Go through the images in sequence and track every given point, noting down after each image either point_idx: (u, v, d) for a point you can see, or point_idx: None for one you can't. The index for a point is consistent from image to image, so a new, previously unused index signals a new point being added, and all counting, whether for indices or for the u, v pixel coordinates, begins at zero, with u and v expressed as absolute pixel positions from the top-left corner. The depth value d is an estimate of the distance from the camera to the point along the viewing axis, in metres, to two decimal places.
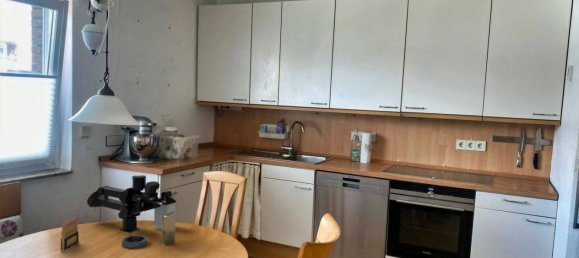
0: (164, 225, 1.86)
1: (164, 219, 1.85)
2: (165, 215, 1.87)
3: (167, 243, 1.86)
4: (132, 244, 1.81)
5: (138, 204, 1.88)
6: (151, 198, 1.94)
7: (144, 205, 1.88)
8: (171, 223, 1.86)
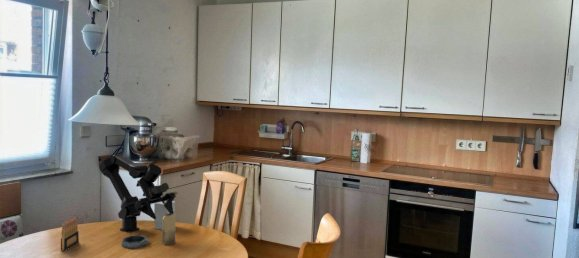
0: (164, 225, 1.86)
1: (164, 219, 1.85)
2: (165, 215, 1.87)
3: (167, 243, 1.86)
4: (132, 244, 1.81)
5: (138, 204, 1.85)
6: (153, 199, 1.91)
7: (142, 208, 1.86)
8: (171, 223, 1.86)
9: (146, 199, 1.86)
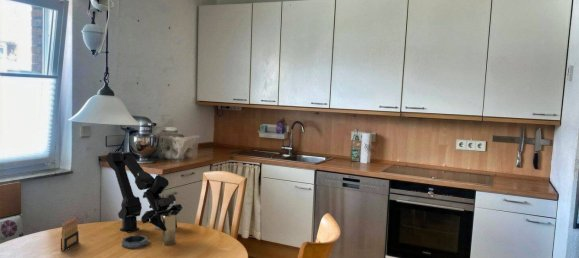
0: (164, 225, 1.86)
1: (164, 219, 1.85)
2: (165, 215, 1.87)
3: (167, 243, 1.86)
4: (132, 244, 1.81)
5: (144, 217, 1.83)
6: (160, 212, 1.88)
7: (152, 220, 1.85)
8: (171, 223, 1.86)
9: (153, 212, 1.84)
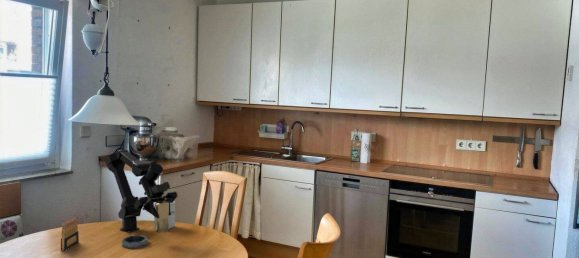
0: (157, 212, 1.84)
1: (157, 206, 1.84)
2: (158, 202, 1.86)
3: (160, 230, 1.85)
4: (132, 244, 1.81)
5: (137, 203, 1.82)
6: (154, 199, 1.87)
7: (145, 206, 1.84)
8: (164, 210, 1.84)
9: (146, 198, 1.83)
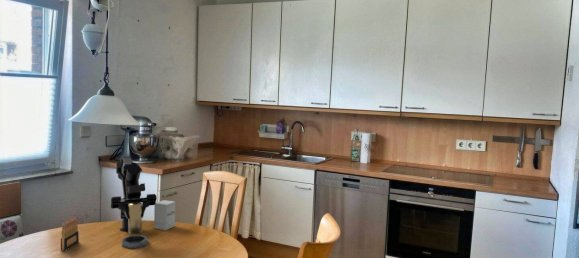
0: (128, 213, 1.84)
1: (128, 207, 1.83)
2: (132, 203, 1.85)
3: (130, 231, 1.84)
4: (132, 244, 1.81)
5: (111, 202, 1.85)
6: (129, 199, 1.87)
7: (119, 206, 1.86)
8: (134, 212, 1.83)
9: (118, 198, 1.84)
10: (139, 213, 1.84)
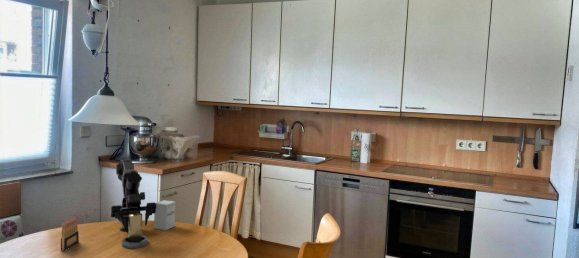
0: (129, 223, 1.84)
1: (129, 217, 1.84)
2: (132, 214, 1.86)
3: (130, 242, 1.84)
4: (132, 244, 1.81)
5: (111, 211, 1.85)
6: (129, 208, 1.88)
7: (116, 215, 1.85)
8: (134, 222, 1.83)
9: (118, 207, 1.84)
10: (139, 224, 1.85)
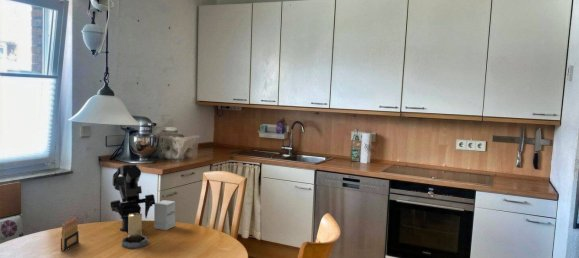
0: (128, 224, 1.84)
1: (128, 218, 1.84)
2: (132, 214, 1.86)
3: (130, 242, 1.84)
4: (132, 244, 1.81)
5: (111, 206, 1.92)
6: (128, 202, 1.93)
7: (115, 210, 1.92)
8: (134, 223, 1.83)
9: (117, 202, 1.91)
10: (139, 224, 1.84)
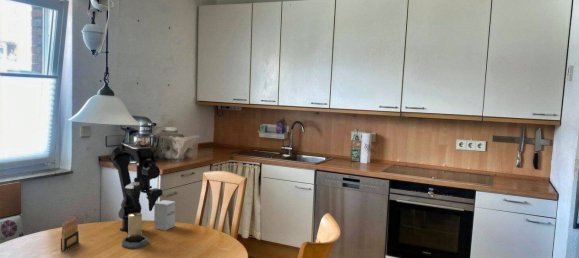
0: (128, 224, 1.84)
1: (128, 217, 1.84)
2: (132, 214, 1.86)
3: (130, 242, 1.84)
4: (132, 244, 1.81)
5: None
6: None
7: None
8: (134, 223, 1.83)
9: None
10: (139, 224, 1.84)
